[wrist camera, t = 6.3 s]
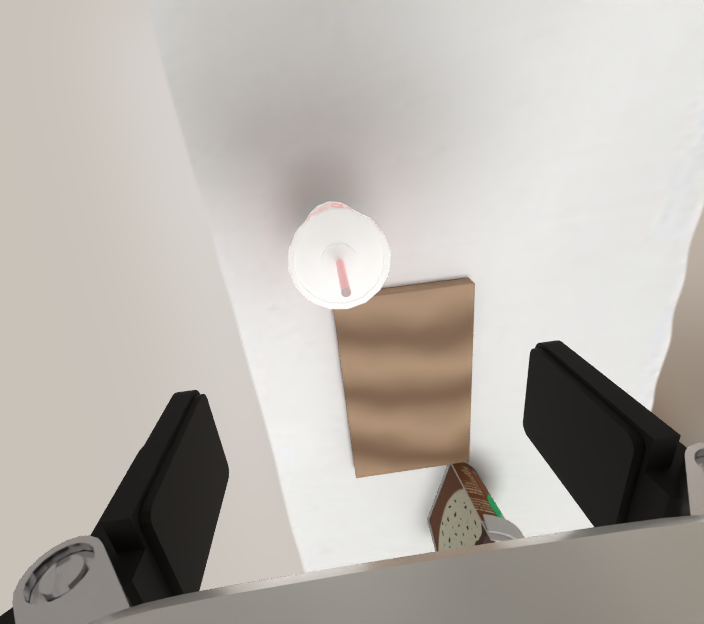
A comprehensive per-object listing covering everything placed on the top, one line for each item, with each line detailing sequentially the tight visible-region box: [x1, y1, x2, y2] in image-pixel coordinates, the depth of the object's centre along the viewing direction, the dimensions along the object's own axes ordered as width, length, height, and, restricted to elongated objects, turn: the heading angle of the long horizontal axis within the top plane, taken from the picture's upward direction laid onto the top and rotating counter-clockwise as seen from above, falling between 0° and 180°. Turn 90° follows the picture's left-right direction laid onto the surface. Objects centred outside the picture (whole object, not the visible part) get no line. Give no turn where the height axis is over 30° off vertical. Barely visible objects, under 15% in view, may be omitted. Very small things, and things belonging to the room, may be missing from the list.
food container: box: [428, 462, 524, 552], centre depth 39 cm, size 12×6×10 cm, turn 169°
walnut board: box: [334, 278, 475, 478], centre depth 36 cm, size 20×12×2 cm, turn 6°
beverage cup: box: [288, 202, 391, 309], centre depth 24 cm, size 6×6×14 cm
